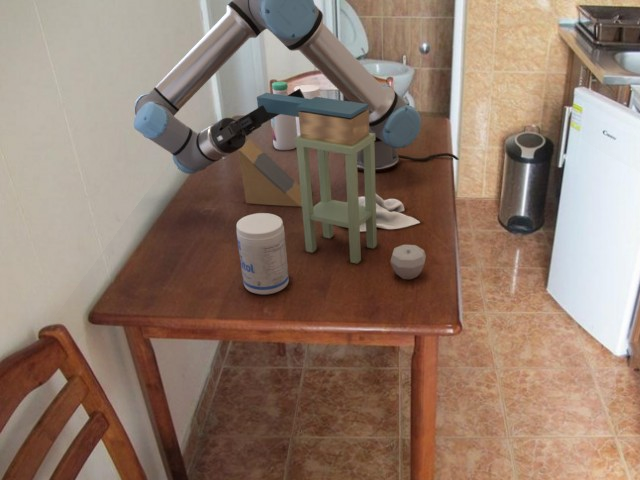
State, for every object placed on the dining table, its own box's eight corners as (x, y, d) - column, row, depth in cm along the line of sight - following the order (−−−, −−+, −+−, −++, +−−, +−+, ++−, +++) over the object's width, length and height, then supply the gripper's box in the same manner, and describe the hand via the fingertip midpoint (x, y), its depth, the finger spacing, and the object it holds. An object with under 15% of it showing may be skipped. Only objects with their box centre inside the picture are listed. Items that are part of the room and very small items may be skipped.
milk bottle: (302, 143, 214) (296, 80, 203) (291, 152, 208) (285, 87, 197) (280, 141, 216) (274, 78, 205) (269, 149, 210) (262, 85, 199)
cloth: (327, 231, 162) (326, 208, 159) (338, 200, 177) (337, 178, 174) (419, 234, 161) (419, 210, 157) (421, 201, 176) (421, 180, 173)
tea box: (300, 137, 139) (298, 111, 137) (319, 126, 145) (317, 101, 142) (352, 146, 135) (350, 119, 132) (369, 134, 141) (368, 109, 138)
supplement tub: (235, 285, 141) (224, 223, 133) (269, 268, 147) (261, 208, 139) (264, 301, 136) (256, 238, 128) (299, 283, 142) (292, 221, 134)
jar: (297, 127, 227) (293, 83, 219) (325, 127, 227) (322, 83, 219) (294, 139, 218) (290, 93, 209) (323, 138, 218) (320, 92, 210)
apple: (401, 262, 149) (401, 236, 145) (432, 271, 146) (433, 245, 142) (383, 278, 143) (382, 252, 140) (415, 288, 140) (415, 261, 136)
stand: (304, 251, 154) (294, 138, 139) (327, 233, 161) (319, 124, 146) (357, 264, 148) (352, 148, 134) (378, 245, 156) (375, 133, 141)
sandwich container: (301, 207, 174) (296, 152, 166) (245, 203, 176) (237, 149, 168) (310, 193, 181) (305, 140, 173) (256, 190, 183) (249, 137, 175)
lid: (252, 113, 142) (250, 99, 140) (273, 103, 148) (271, 90, 146) (351, 129, 133) (350, 114, 131) (369, 118, 139) (368, 104, 137)
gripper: (263, 136, 165) (323, 103, 152) (195, 171, 146) (258, 136, 133) (247, 108, 162) (307, 72, 150) (177, 140, 144) (238, 102, 131)
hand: (284, 102), depth 141 cm, fingers open, 13 cm apart
